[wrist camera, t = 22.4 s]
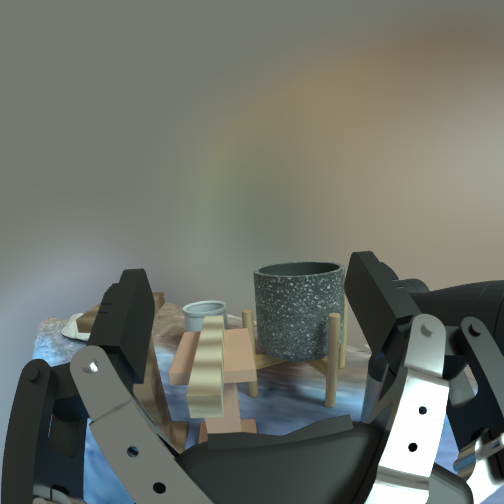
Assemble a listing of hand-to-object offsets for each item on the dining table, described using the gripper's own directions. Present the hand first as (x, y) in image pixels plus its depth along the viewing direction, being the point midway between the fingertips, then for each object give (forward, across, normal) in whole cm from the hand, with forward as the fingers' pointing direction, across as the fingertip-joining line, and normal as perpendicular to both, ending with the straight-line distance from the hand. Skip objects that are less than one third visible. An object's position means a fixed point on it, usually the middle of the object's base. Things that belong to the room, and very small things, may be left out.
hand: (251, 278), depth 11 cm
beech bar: (+14, -5, -28) cm, 31 cm away
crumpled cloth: (+64, -70, -84) cm, 127 cm away
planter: (+27, +16, -63) cm, 71 cm away
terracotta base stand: (+6, -5, -51) cm, 52 cm away
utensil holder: (+48, -11, -76) cm, 90 cm away
